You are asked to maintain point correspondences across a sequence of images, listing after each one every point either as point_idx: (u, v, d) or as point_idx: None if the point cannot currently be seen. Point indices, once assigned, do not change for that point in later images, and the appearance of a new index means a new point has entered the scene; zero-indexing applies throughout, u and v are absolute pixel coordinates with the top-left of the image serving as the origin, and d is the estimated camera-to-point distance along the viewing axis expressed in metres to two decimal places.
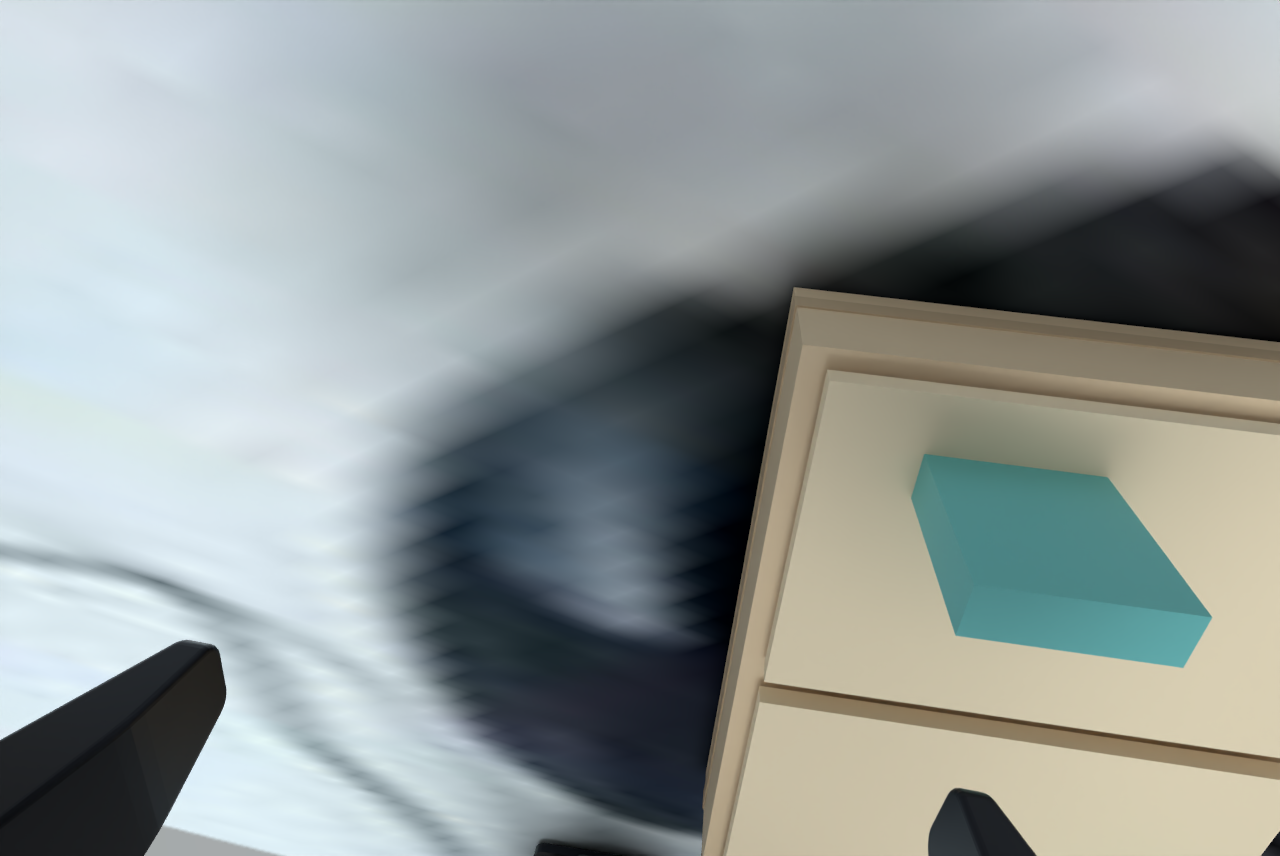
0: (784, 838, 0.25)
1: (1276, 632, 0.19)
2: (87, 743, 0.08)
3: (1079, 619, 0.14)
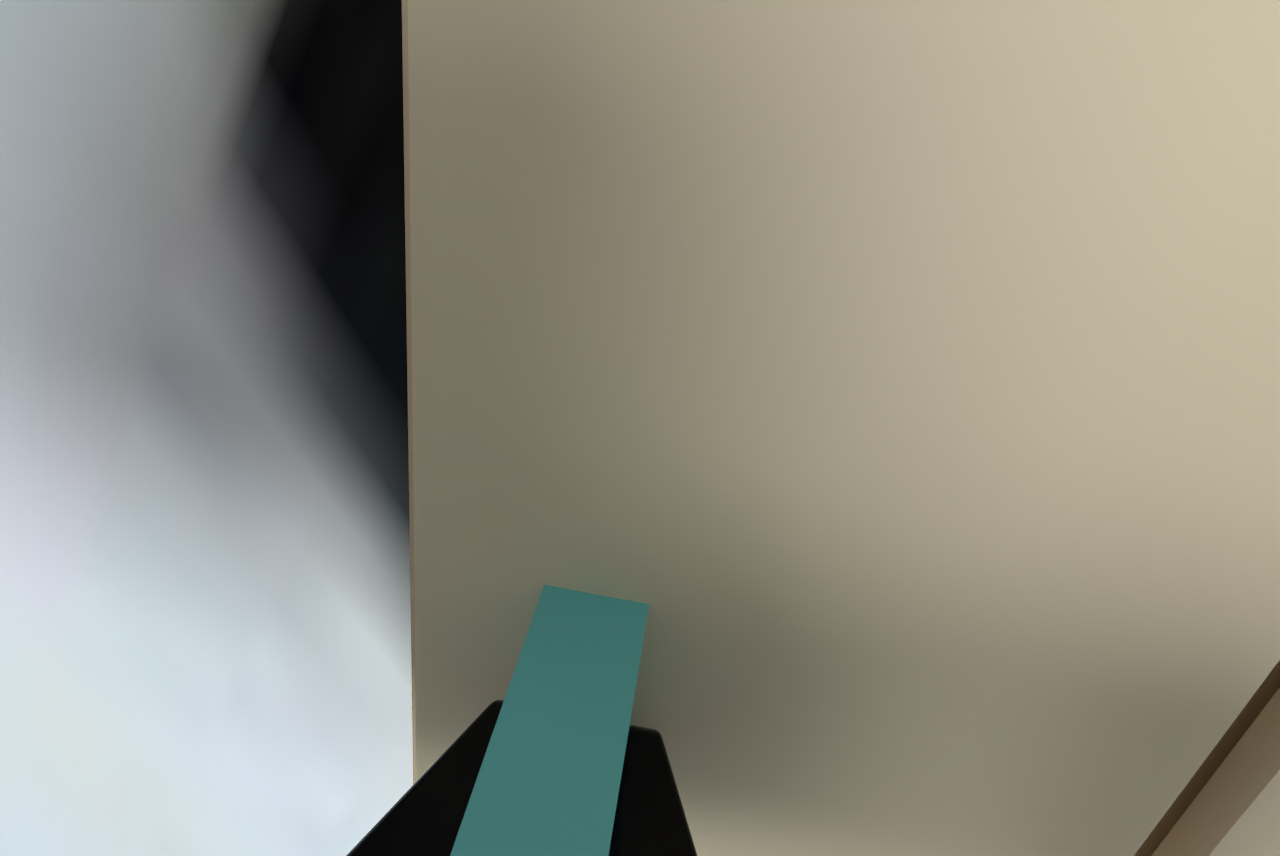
0: None
1: (1048, 159, 0.06)
2: None
3: None
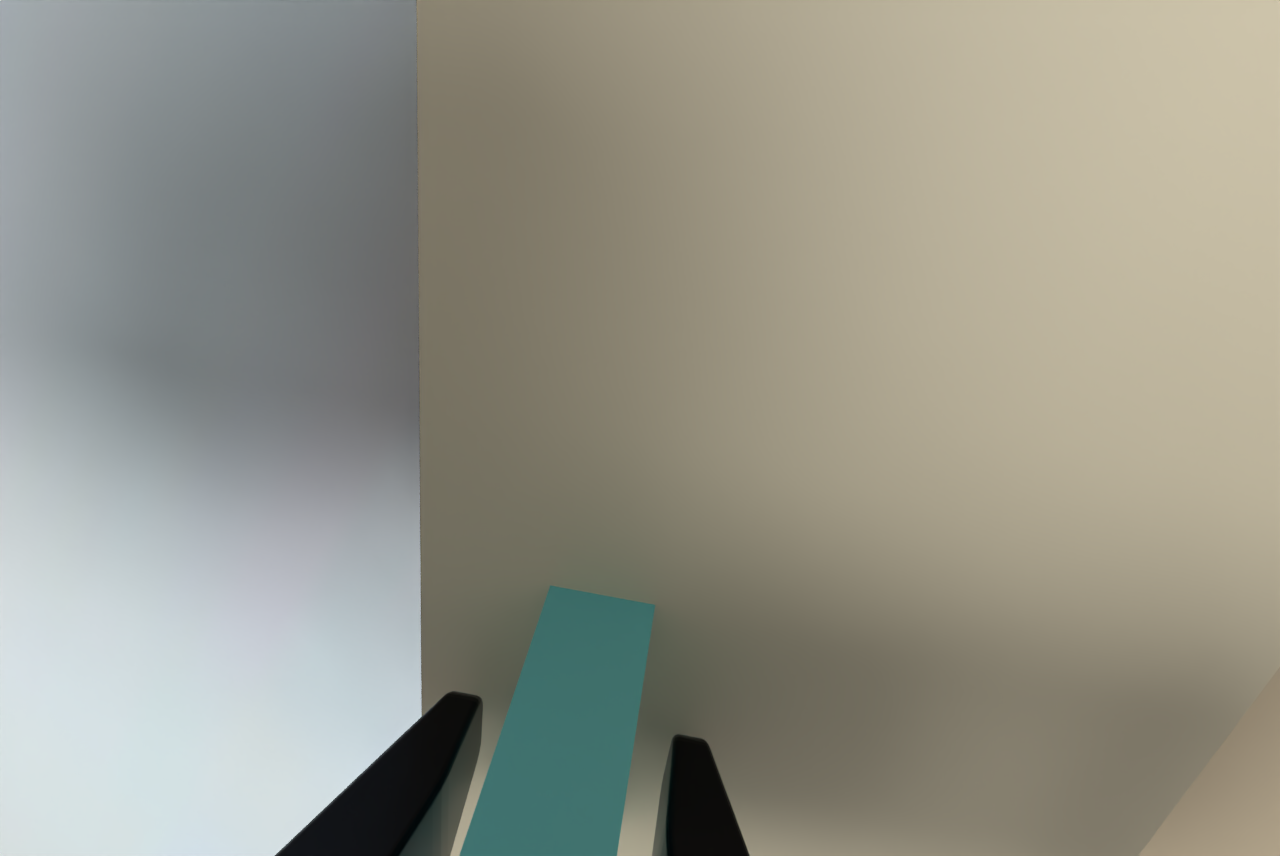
0: None
1: (1055, 161, 0.06)
2: (411, 807, 0.08)
3: None
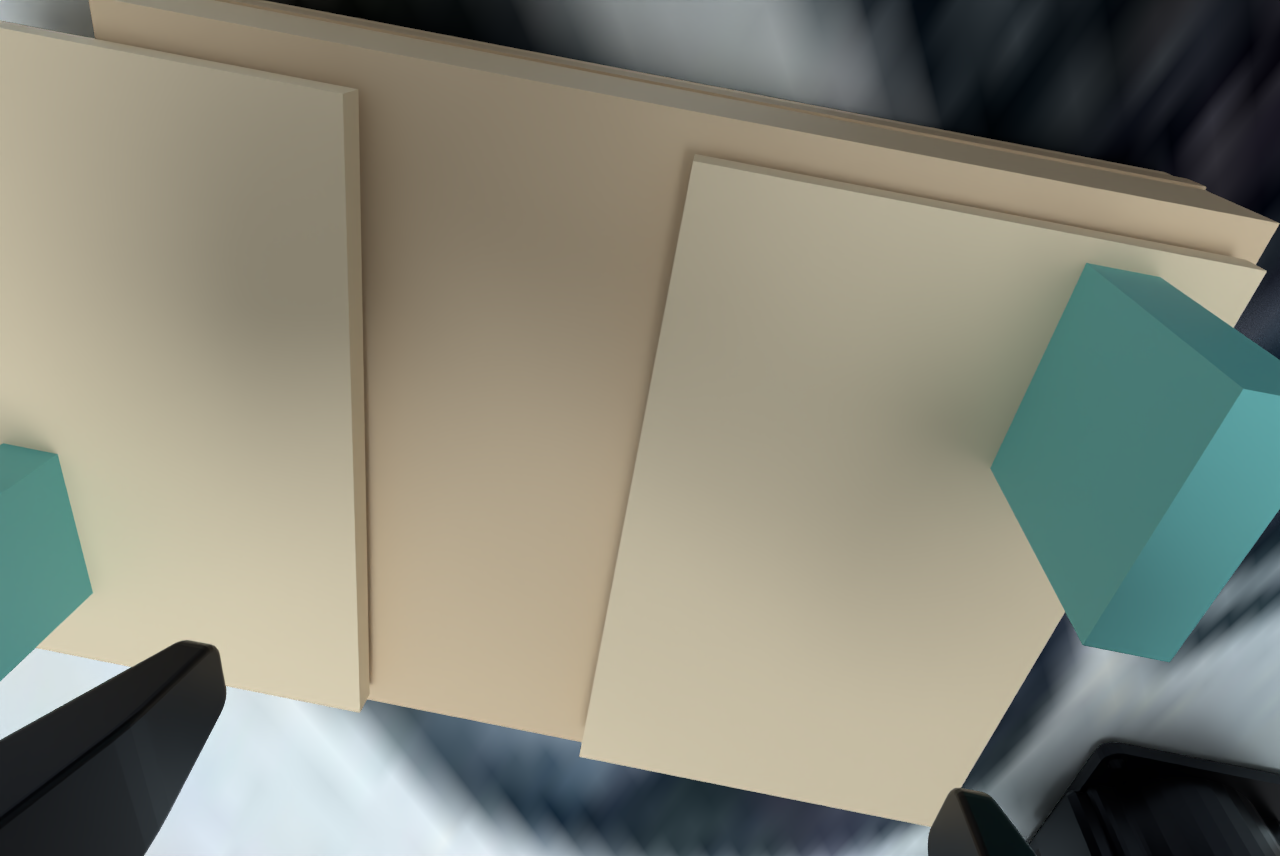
0: (821, 759, 0.19)
1: (127, 239, 0.14)
2: (87, 743, 0.08)
3: None
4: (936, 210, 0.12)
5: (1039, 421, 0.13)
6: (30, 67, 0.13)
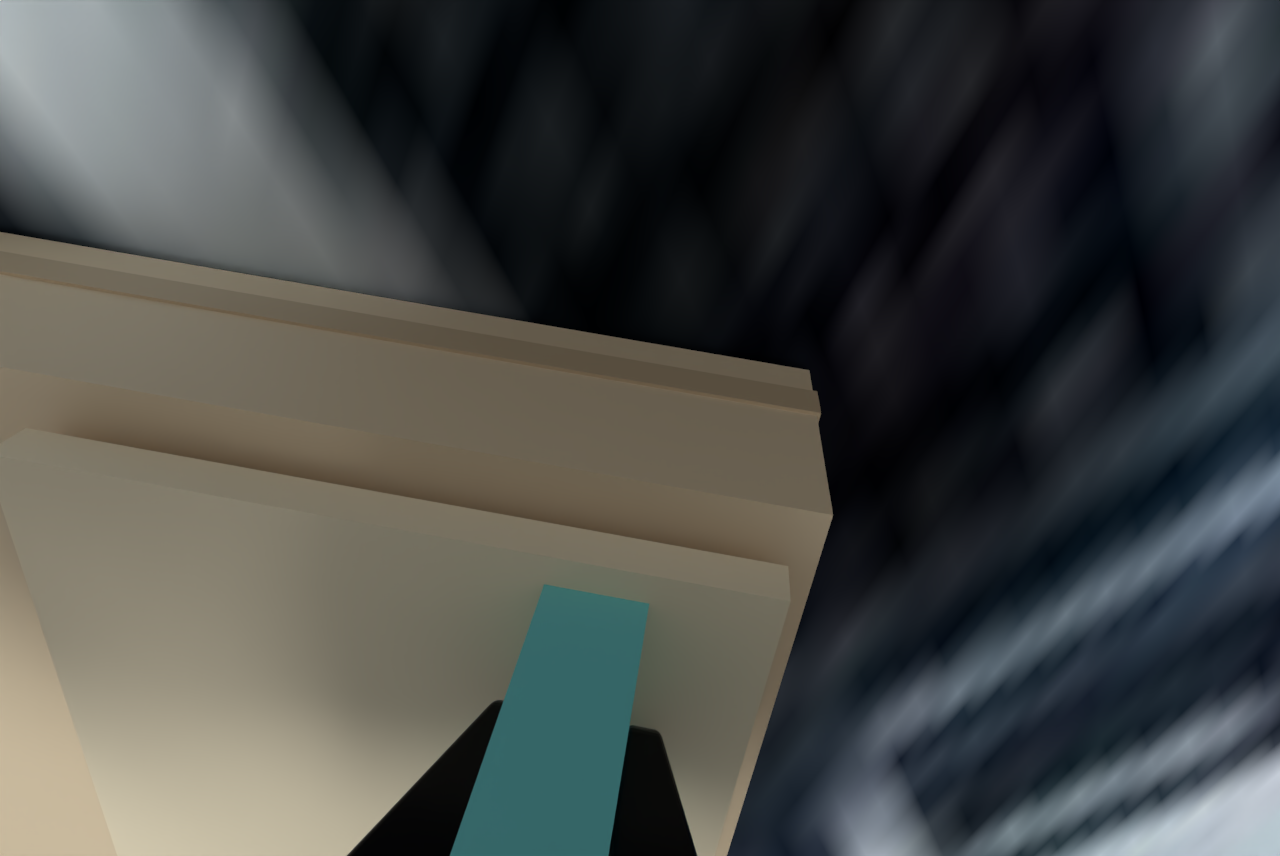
0: None
1: None
2: None
3: None
4: (320, 517, 0.09)
5: None
6: None
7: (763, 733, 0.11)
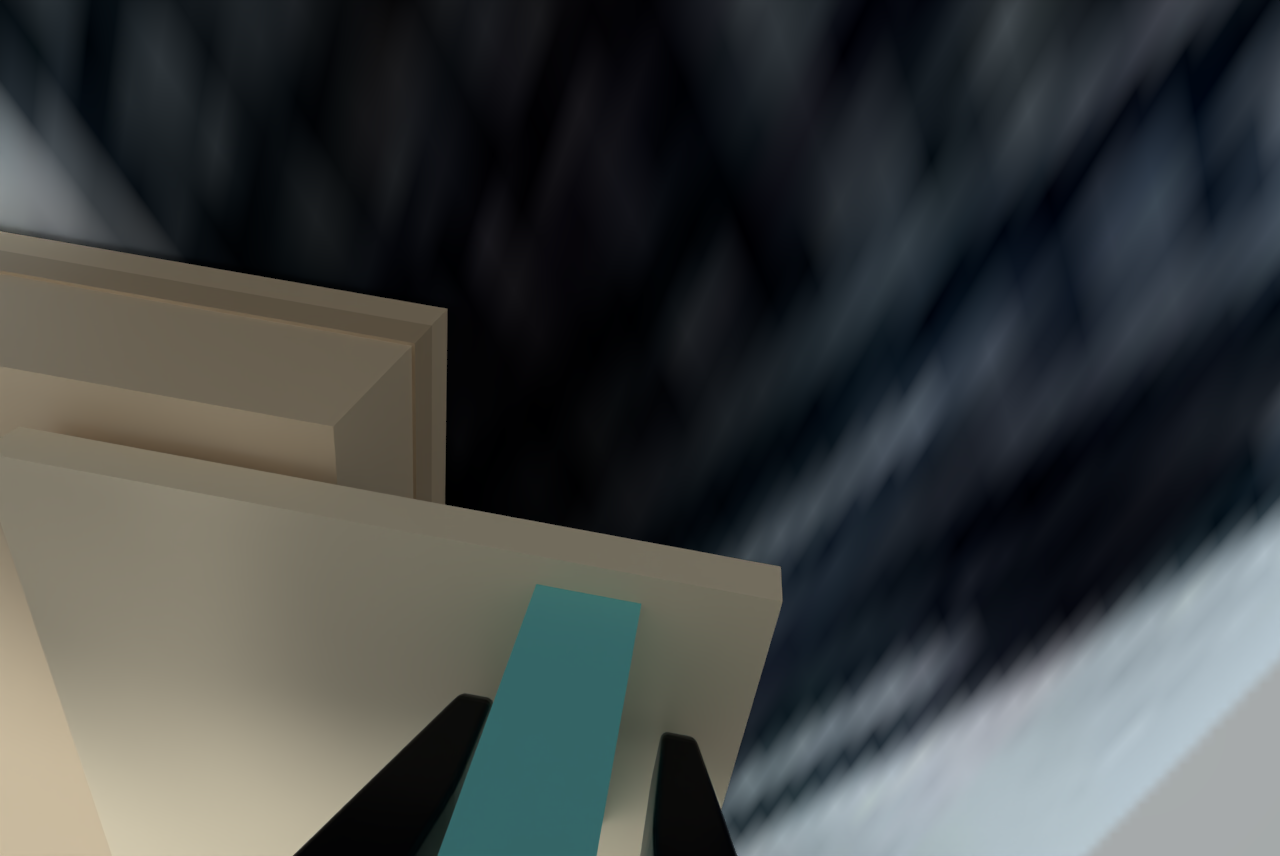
0: None
1: None
2: (425, 810, 0.08)
3: None
4: (312, 516, 0.09)
5: None
6: None
7: None
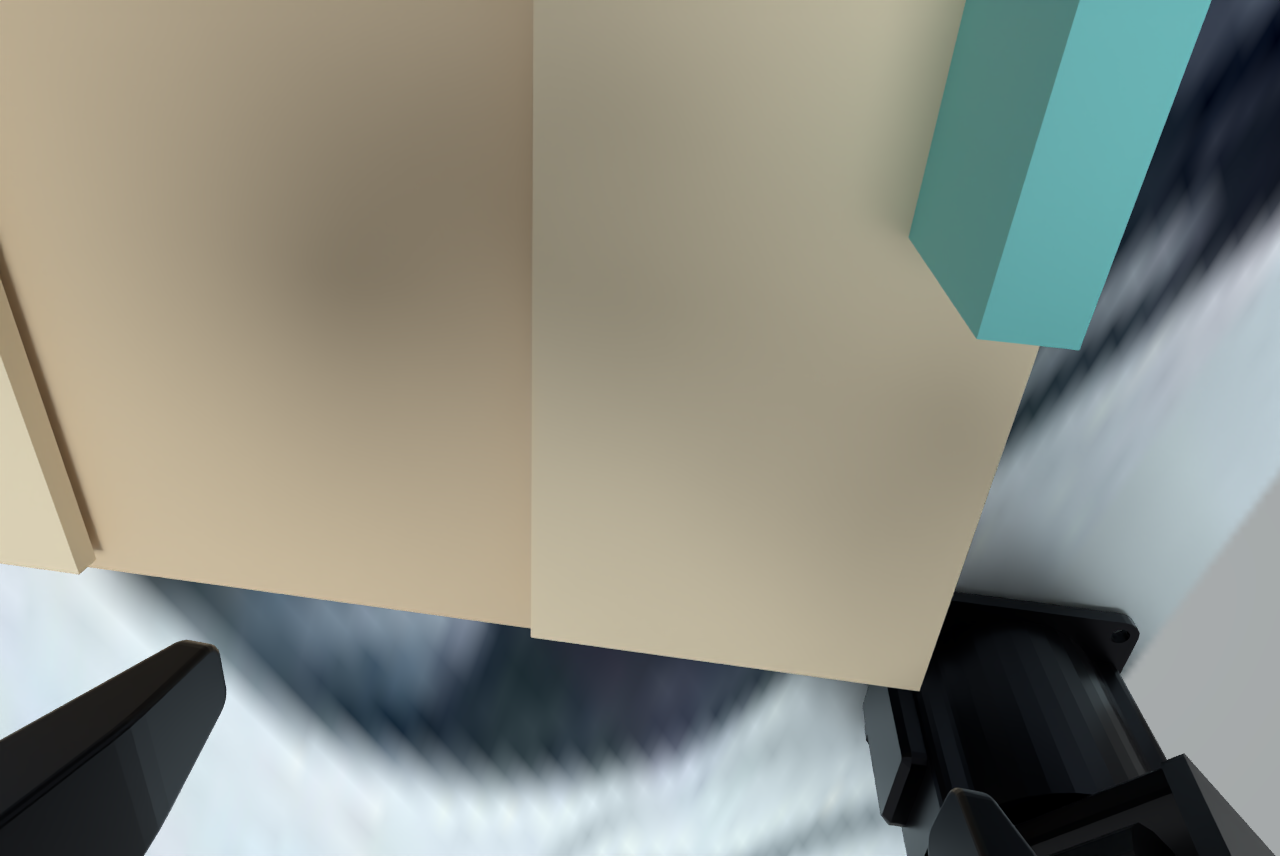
0: (783, 618, 0.18)
1: None
2: (87, 743, 0.08)
3: None
4: None
5: (942, 154, 0.12)
6: None
7: None
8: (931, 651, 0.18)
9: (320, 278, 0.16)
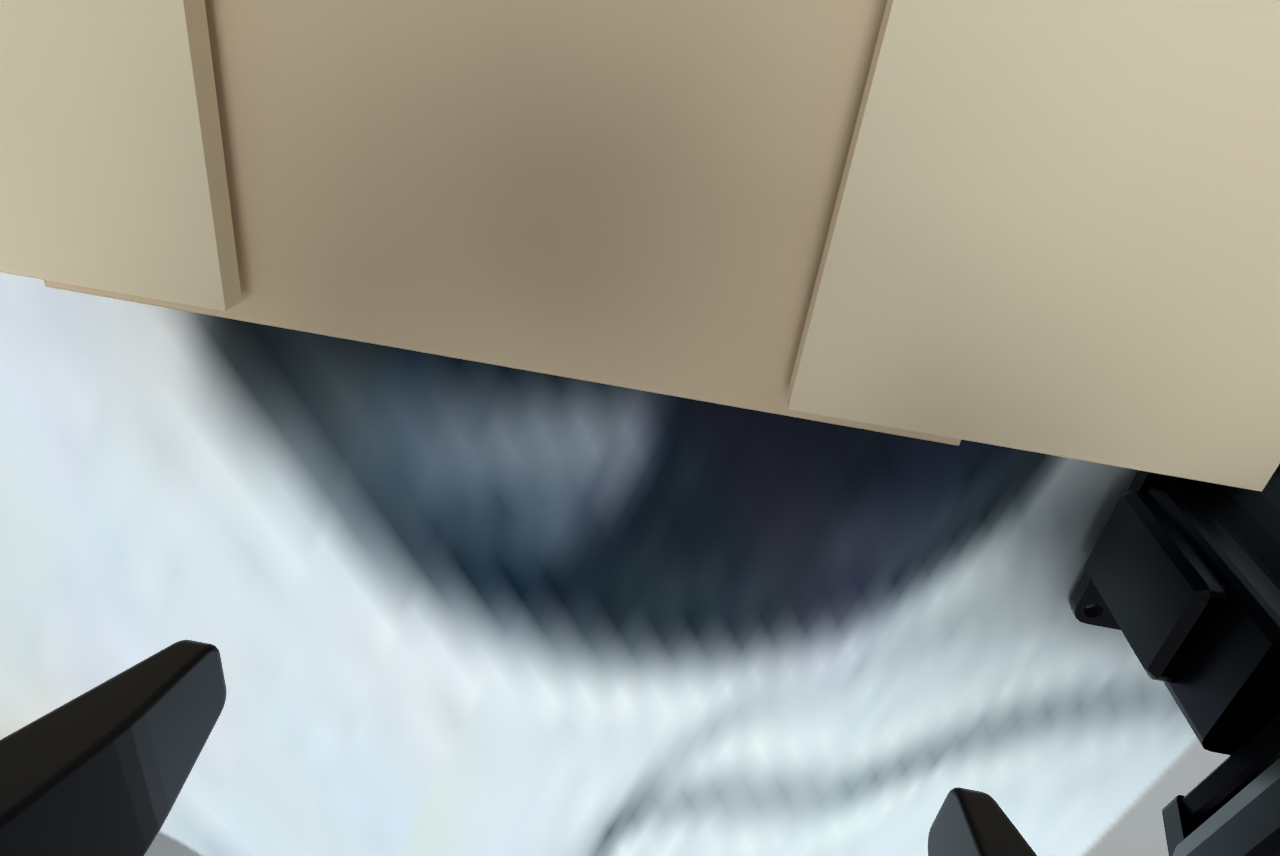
0: (1120, 385, 0.14)
1: None
2: (87, 743, 0.08)
3: None
4: None
5: None
6: None
7: None
8: None
9: None
